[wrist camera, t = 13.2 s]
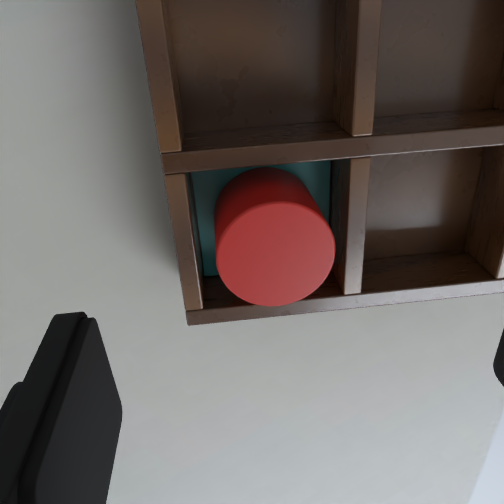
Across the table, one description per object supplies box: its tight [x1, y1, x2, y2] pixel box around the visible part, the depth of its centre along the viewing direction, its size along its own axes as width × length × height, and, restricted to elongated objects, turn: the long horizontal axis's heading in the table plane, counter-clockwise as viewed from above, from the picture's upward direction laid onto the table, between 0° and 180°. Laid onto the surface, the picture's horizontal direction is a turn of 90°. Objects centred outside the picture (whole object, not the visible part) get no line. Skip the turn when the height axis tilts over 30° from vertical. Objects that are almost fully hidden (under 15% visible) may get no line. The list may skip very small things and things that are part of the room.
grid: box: [135, 0, 504, 326], centre depth 16 cm, size 13×13×3 cm
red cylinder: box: [214, 167, 335, 306], centre depth 16 cm, size 4×4×4 cm
